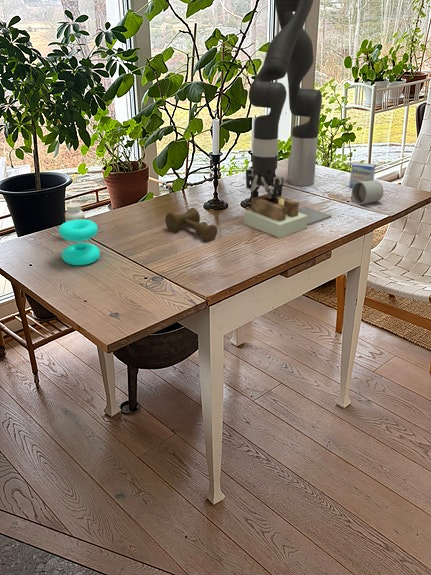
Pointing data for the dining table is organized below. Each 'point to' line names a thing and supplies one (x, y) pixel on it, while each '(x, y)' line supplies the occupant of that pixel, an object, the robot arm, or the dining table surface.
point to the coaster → (313, 215)
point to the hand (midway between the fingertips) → (262, 206)
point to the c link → (274, 207)
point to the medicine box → (361, 173)
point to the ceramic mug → (367, 192)
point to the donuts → (79, 251)
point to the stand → (276, 222)
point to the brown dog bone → (191, 224)
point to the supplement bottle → (74, 212)
